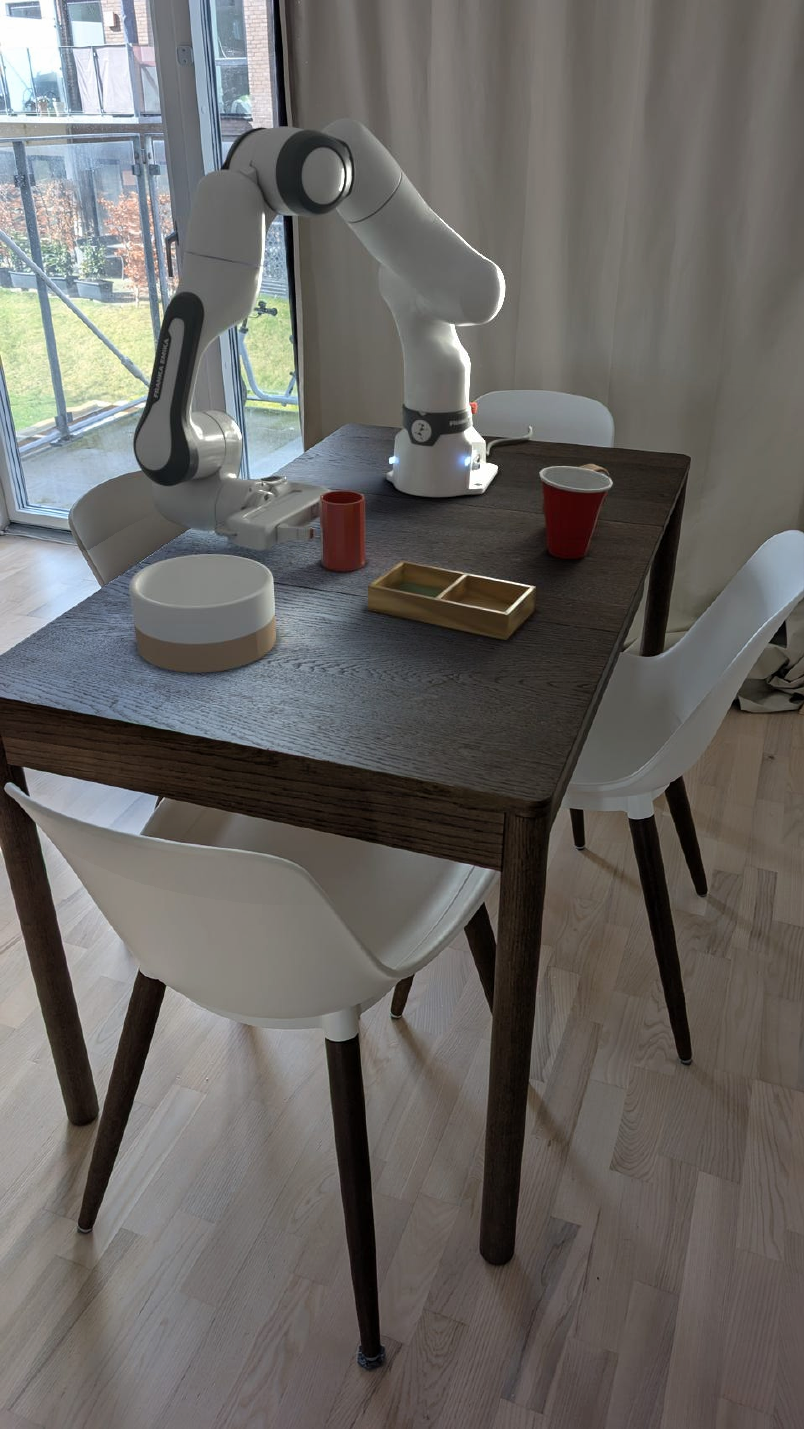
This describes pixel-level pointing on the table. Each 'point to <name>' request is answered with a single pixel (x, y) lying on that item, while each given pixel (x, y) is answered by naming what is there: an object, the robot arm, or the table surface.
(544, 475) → the plastic cup
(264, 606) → the bowl
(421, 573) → the caddy
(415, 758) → the table surface
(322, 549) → the cup
